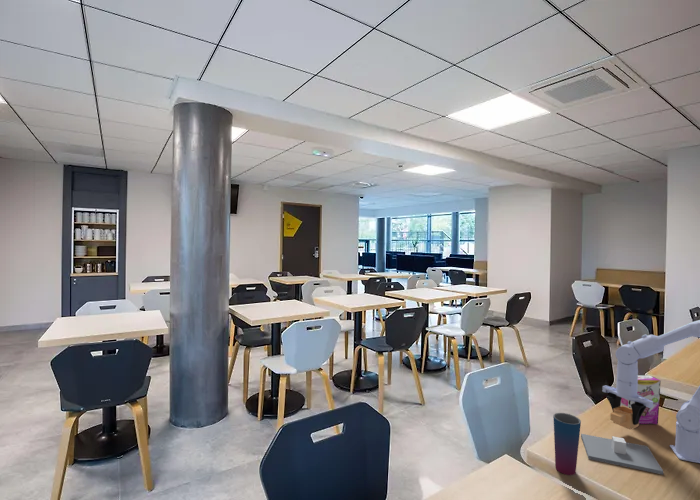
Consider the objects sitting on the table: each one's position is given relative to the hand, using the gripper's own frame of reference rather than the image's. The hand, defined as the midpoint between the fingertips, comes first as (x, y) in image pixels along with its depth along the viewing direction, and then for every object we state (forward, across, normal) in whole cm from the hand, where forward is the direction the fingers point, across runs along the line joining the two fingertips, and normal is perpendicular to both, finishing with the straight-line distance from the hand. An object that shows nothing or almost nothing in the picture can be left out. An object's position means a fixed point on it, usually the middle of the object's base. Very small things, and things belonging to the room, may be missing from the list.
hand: (625, 420), depth 127 cm
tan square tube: (+2, 0, +2) cm, 2 cm away
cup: (+5, -4, +37) cm, 38 cm away
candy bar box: (+5, +3, -14) cm, 16 cm away
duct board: (+5, -6, +15) cm, 17 cm away
